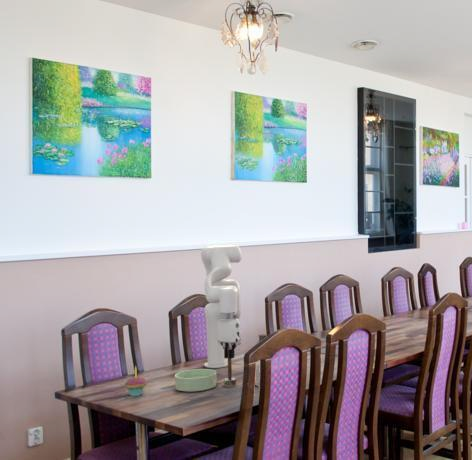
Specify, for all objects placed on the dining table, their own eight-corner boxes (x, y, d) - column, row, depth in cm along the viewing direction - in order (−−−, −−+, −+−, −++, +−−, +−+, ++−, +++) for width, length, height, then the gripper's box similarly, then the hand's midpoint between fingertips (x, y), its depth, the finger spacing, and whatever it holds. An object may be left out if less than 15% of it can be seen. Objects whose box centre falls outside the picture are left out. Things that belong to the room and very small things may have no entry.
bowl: (195, 380, 291) (195, 367, 291) (224, 384, 283) (224, 371, 283) (166, 390, 275) (166, 376, 275) (196, 394, 268) (196, 380, 267)
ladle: (229, 383, 284) (228, 343, 284) (238, 385, 282) (237, 344, 282) (221, 386, 280) (220, 345, 279) (230, 387, 278) (229, 346, 277)
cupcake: (125, 393, 271) (124, 364, 271) (146, 390, 275) (146, 362, 274) (125, 398, 263) (124, 369, 263) (147, 395, 267) (147, 367, 266)
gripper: (248, 315, 280) (249, 357, 280) (220, 313, 287) (221, 354, 288) (237, 318, 273) (237, 361, 274) (208, 316, 280) (209, 358, 281)
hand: (229, 357), depth 281 cm, fingers closed on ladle
